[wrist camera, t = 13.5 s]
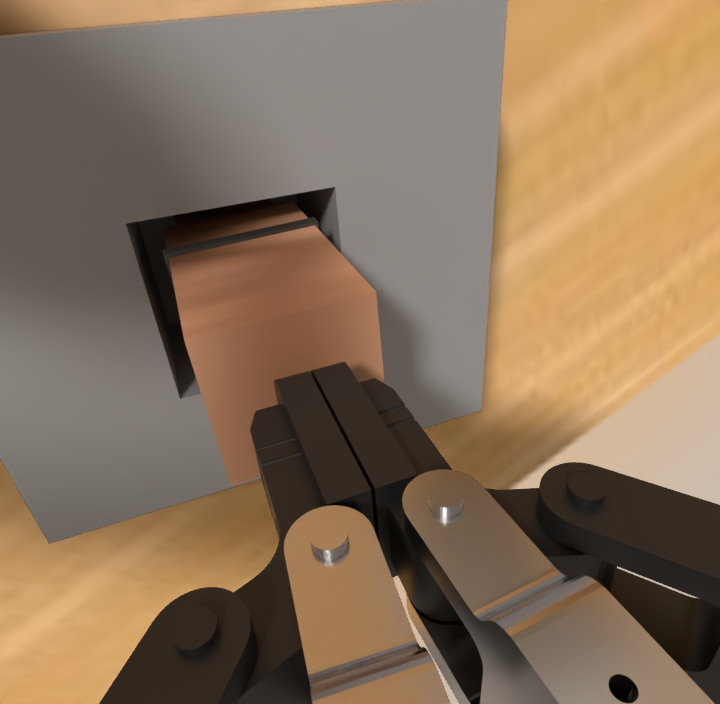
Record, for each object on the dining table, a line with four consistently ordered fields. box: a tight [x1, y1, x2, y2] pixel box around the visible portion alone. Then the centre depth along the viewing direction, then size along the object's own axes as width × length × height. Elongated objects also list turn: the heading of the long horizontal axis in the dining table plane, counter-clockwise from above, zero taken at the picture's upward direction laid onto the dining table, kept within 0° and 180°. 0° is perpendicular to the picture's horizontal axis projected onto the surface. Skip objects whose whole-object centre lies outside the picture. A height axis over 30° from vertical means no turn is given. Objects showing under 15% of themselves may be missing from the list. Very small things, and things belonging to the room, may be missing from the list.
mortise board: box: [0, 0, 508, 544], centre depth 19 cm, size 16×14×6 cm
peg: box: [163, 199, 385, 486], centre depth 16 cm, size 4×4×10 cm
